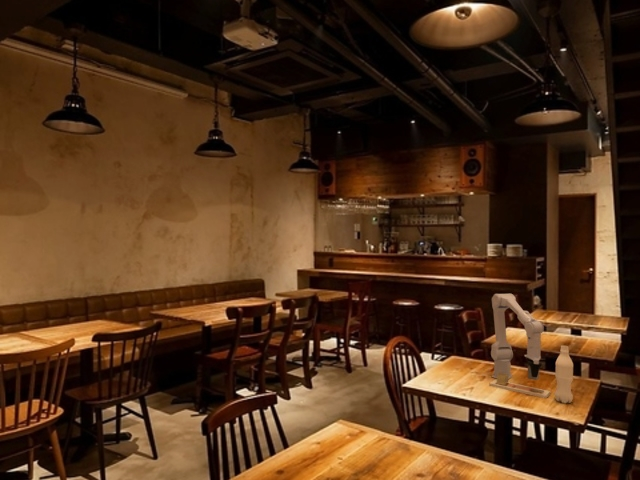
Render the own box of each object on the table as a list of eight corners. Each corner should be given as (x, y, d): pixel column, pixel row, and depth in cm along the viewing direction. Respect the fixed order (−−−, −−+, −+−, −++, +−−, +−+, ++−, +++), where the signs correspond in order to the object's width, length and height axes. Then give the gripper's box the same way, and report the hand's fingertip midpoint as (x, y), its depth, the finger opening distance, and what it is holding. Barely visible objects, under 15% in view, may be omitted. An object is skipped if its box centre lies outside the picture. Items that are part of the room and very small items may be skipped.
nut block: (530, 376, 220) (530, 363, 220) (539, 378, 218) (539, 365, 218) (527, 378, 217) (527, 365, 217) (536, 380, 215) (536, 367, 215)
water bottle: (572, 400, 208) (573, 345, 208) (573, 405, 202) (574, 348, 201) (554, 397, 211) (555, 343, 211) (555, 402, 205) (556, 347, 204)
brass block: (499, 384, 230) (499, 372, 229) (507, 386, 227) (508, 374, 227) (496, 386, 226) (497, 374, 226) (505, 388, 224) (505, 375, 224)
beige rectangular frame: (494, 381, 233) (494, 379, 233) (550, 393, 216) (550, 391, 216) (489, 385, 227) (489, 383, 227) (546, 398, 210) (546, 395, 210)
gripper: (522, 342, 225) (521, 370, 226) (527, 349, 211) (526, 378, 212) (538, 343, 223) (537, 371, 224) (543, 350, 209) (543, 380, 210)
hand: (533, 375), depth 218 cm, fingers closed on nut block, 5 cm apart
